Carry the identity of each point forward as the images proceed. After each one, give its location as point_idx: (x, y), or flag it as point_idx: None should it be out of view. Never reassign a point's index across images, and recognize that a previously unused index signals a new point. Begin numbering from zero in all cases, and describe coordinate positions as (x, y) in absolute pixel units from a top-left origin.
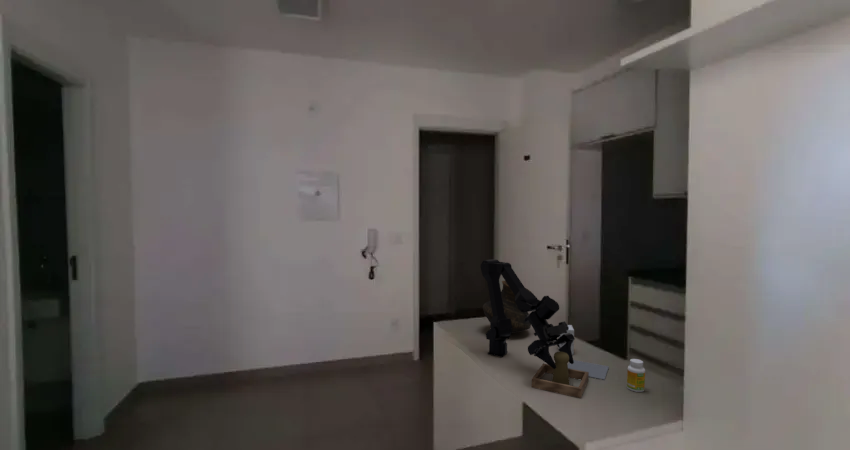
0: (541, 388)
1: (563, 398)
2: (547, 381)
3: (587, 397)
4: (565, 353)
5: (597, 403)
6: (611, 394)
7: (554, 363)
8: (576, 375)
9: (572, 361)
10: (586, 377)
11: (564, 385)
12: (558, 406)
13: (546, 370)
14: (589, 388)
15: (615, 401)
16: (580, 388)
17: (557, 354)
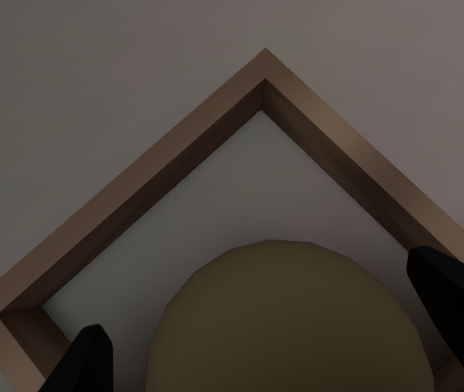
0: None
1: (371, 109)
2: (459, 234)
3: (213, 82)
4: (223, 353)
5: (209, 8)
6: (39, 77)
7: (453, 274)
8: None
9: (95, 336)
10: (64, 224)
11: (354, 131)
12: (458, 33)
13: None
14: None
15: (91, 2)
16: (265, 55)
17: (415, 379)
